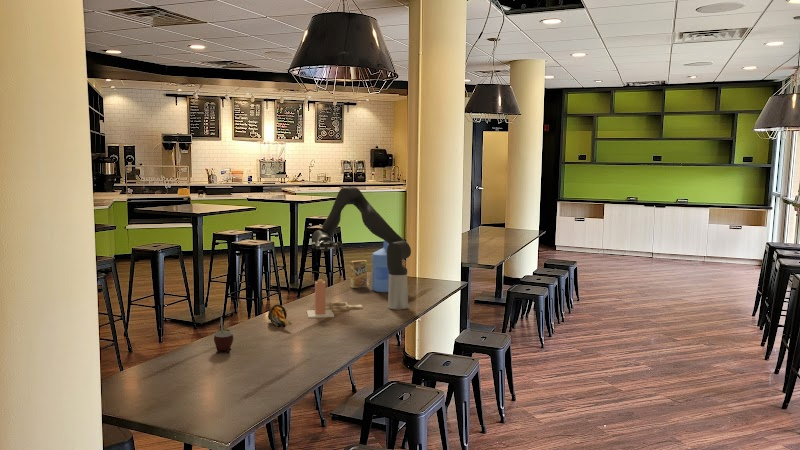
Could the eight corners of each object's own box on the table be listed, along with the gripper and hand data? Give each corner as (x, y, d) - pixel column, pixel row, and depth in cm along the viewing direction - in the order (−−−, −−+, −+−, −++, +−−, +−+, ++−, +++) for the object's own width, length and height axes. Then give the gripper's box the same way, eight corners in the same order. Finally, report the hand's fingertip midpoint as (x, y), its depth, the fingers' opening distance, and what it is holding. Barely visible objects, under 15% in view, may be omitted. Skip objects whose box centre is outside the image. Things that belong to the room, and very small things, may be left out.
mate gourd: (226, 347, 246) (225, 309, 244) (238, 351, 241) (237, 313, 239) (209, 351, 240) (208, 313, 238) (221, 356, 235) (221, 317, 233)
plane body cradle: (360, 305, 317) (360, 301, 317) (363, 309, 308) (363, 305, 308) (314, 307, 312) (314, 303, 312) (316, 311, 303) (316, 307, 303)
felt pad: (331, 310, 305) (331, 309, 305) (334, 316, 294) (334, 315, 294) (306, 311, 303) (306, 310, 303) (308, 318, 291) (308, 316, 291)
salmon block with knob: (324, 311, 301) (324, 278, 299) (325, 313, 297) (325, 280, 295) (315, 312, 300) (315, 279, 298) (315, 314, 296) (315, 280, 294)
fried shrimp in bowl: (280, 308, 289) (304, 302, 277) (277, 332, 285) (301, 327, 273) (263, 304, 283) (287, 297, 271) (260, 328, 279) (283, 322, 267)
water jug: (367, 288, 358) (368, 239, 355) (392, 286, 365) (393, 238, 362) (378, 293, 344) (378, 243, 341) (404, 291, 351) (404, 241, 348)
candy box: (353, 288, 357) (353, 261, 356) (350, 286, 361) (350, 260, 359) (367, 287, 362) (367, 260, 360) (364, 285, 365) (364, 259, 364)
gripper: (310, 235, 325) (313, 239, 309) (338, 235, 328) (342, 239, 312) (310, 250, 325) (313, 254, 310) (338, 249, 328) (342, 254, 313)
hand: (327, 247), depth 311 cm, fingers open, 8 cm apart
